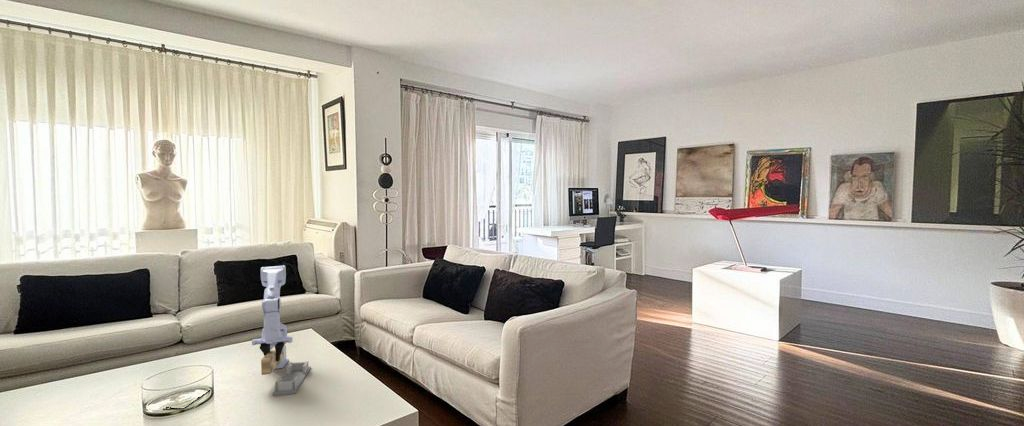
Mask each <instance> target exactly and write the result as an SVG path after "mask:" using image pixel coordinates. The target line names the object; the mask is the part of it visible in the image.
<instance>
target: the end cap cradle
mask: <svg viewBox="0 0 1024 426" xmlns="http://www.w3.org/2000/svg"><path fill="white" fill-rule="evenodd" d="M311 369H312V366H311V365H310V366H309V361H300V362H299V361H298V362H290V363H289V364H288V366H287V367H286V374H285V376H284V377H279V378H277V380H276V382H275V383H274V391H273V392H272V393H271V396H272V397H275V396H284V395H285V396H287V395H295V394H297V391H298V390H299V388H300V387H301V386H302V384H303V382H304V380H305V379H306V377H307V375H308V373H309V372H310V371H311Z"/></svg>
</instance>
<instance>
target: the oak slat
mask: <svg viewBox="0 0 1024 426" xmlns="http://www.w3.org/2000/svg"><path fill="white" fill-rule="evenodd" d="M283 359H284V350H283V349H282V351H281V355H280V360H279V361H277V362H276V350H275V346H274V347H273V348H272V349H271V350H270V351H269V352H268V353H267V354H266V355H265V356H264V355H263V357H262V358H261V359H260V365H261V368H260V369H261V372H260V373H261V375H262V376H265V375H271V374H272V373H273V371H274V370H276V369H275V368H276V367H277V366H278V365H279V363H280V362H281V361H282V360H283Z"/></svg>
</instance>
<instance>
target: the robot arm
mask: <svg viewBox="0 0 1024 426" xmlns="http://www.w3.org/2000/svg"><path fill="white" fill-rule="evenodd" d="M286 268H287V267H286V265H284V264H282V265H274V266H262V267H260V281H261V285H262V286H263V287H265V288H264V292H263V300H262V301H261V312H262V319H263V328H262V330H261V338H260V337H259V338H253V339H252V340H251V345H252V346H256V345H259V350H260V351H261V352H262V354H263V357H264V356H265V355H266V354H267V353H268V352H269V351H270V350H271V349H272V348H273V347H274V346H275V350H276V362H277V361H279V360H280V355H281V351H282V349H283V350H284V359H283V360H282V361H281V362H280V363H279V365H278V366H277V367H276V368H275V369H274V370H276V369H277V370H278V369H283V368H284V367H285V366H286V364H287V363H288V362H289V361H290V359H289V358H287V346H286V345H287V343H288V344H291V343H292V342H293V341H294V339H293V336H288V329H287V325H285V324H284V323H282V322H281V310H282V306H281V305H282V302H281V301H282V299H281V296H280V295H281V287H282V286H284V285H285V284H286V280H287V279H286V278H287V271H286Z"/></svg>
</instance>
